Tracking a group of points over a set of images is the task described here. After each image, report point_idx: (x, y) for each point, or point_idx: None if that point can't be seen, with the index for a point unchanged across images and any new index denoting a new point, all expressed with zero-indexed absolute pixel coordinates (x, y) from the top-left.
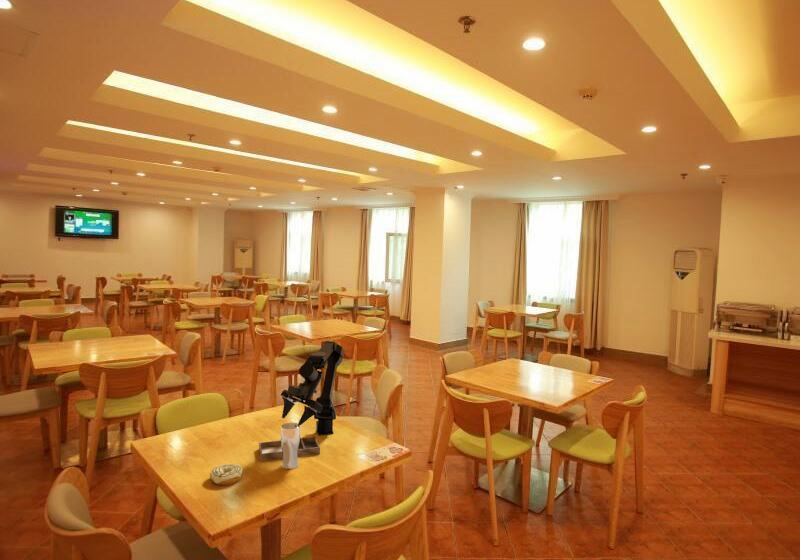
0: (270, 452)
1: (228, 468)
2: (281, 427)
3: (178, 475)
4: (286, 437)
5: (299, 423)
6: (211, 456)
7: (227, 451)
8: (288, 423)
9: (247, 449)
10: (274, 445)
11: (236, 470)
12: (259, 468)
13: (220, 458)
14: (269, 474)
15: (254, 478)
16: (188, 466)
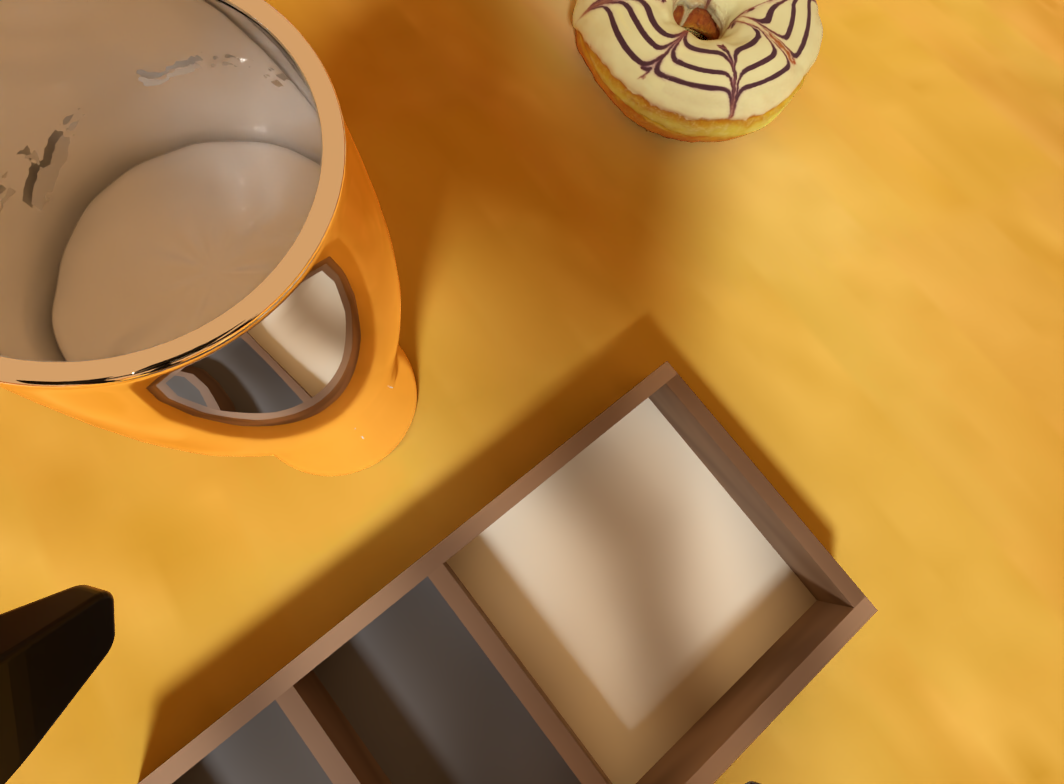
0: (670, 557)
1: (720, 39)
2: (304, 46)
3: (989, 19)
4: (188, 88)
5: (45, 601)
6: (1055, 311)
7: (1030, 436)
8: (246, 295)
9: (918, 544)
10: (727, 704)
11: (626, 1)
12: (565, 259)
13: (969, 305)
14: (423, 199)
15: (498, 115)
16: (1047, 130)
